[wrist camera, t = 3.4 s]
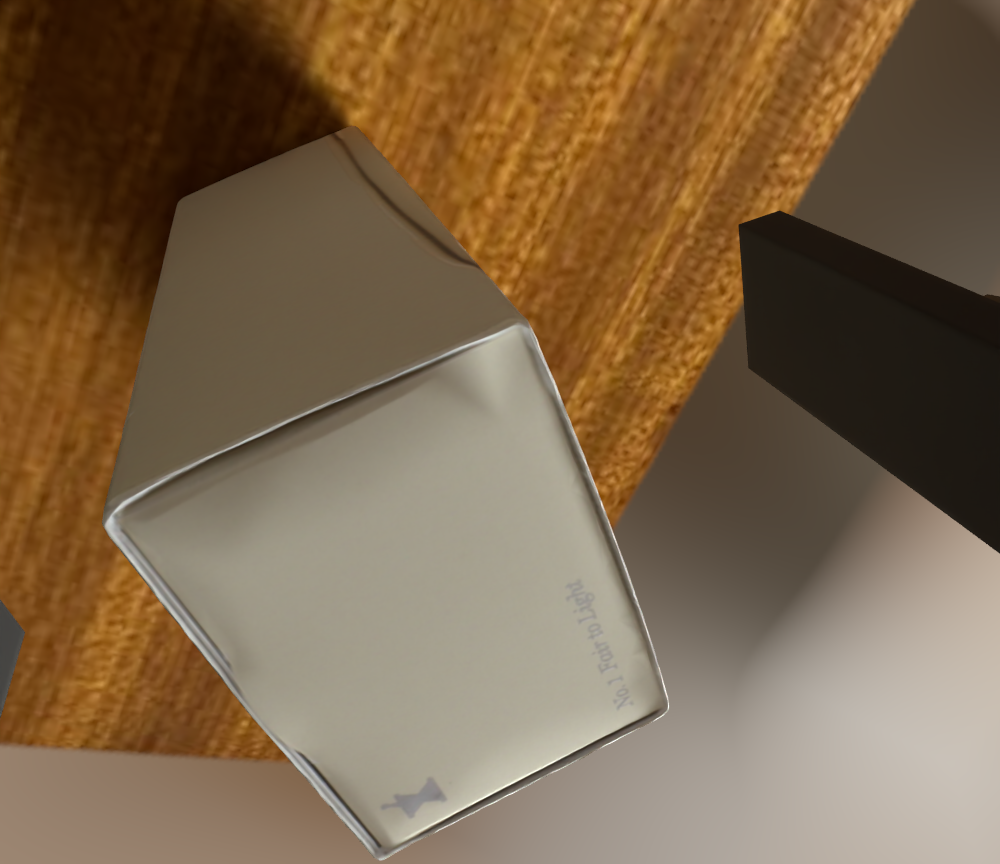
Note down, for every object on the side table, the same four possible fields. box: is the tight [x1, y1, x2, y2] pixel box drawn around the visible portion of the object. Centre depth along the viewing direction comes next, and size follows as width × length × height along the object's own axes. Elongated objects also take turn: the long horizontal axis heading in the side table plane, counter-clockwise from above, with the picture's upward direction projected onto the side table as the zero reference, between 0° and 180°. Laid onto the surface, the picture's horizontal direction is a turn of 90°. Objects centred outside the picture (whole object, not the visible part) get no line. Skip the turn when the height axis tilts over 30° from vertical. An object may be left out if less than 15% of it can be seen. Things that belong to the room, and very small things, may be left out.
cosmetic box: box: [102, 126, 669, 860], centre depth 14 cm, size 6×4×12 cm
